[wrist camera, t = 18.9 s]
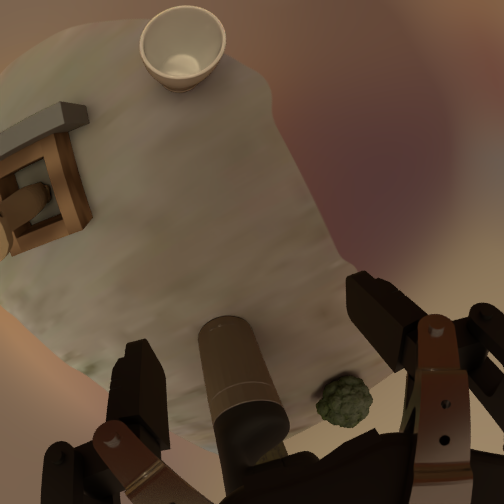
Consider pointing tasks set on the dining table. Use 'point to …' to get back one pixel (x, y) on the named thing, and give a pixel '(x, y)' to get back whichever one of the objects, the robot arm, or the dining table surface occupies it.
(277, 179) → the dining table surface
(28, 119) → the slate wall
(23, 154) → the walnut block
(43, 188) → the handle
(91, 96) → the dining table surface
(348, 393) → the vegetable
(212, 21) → the drinking glass
